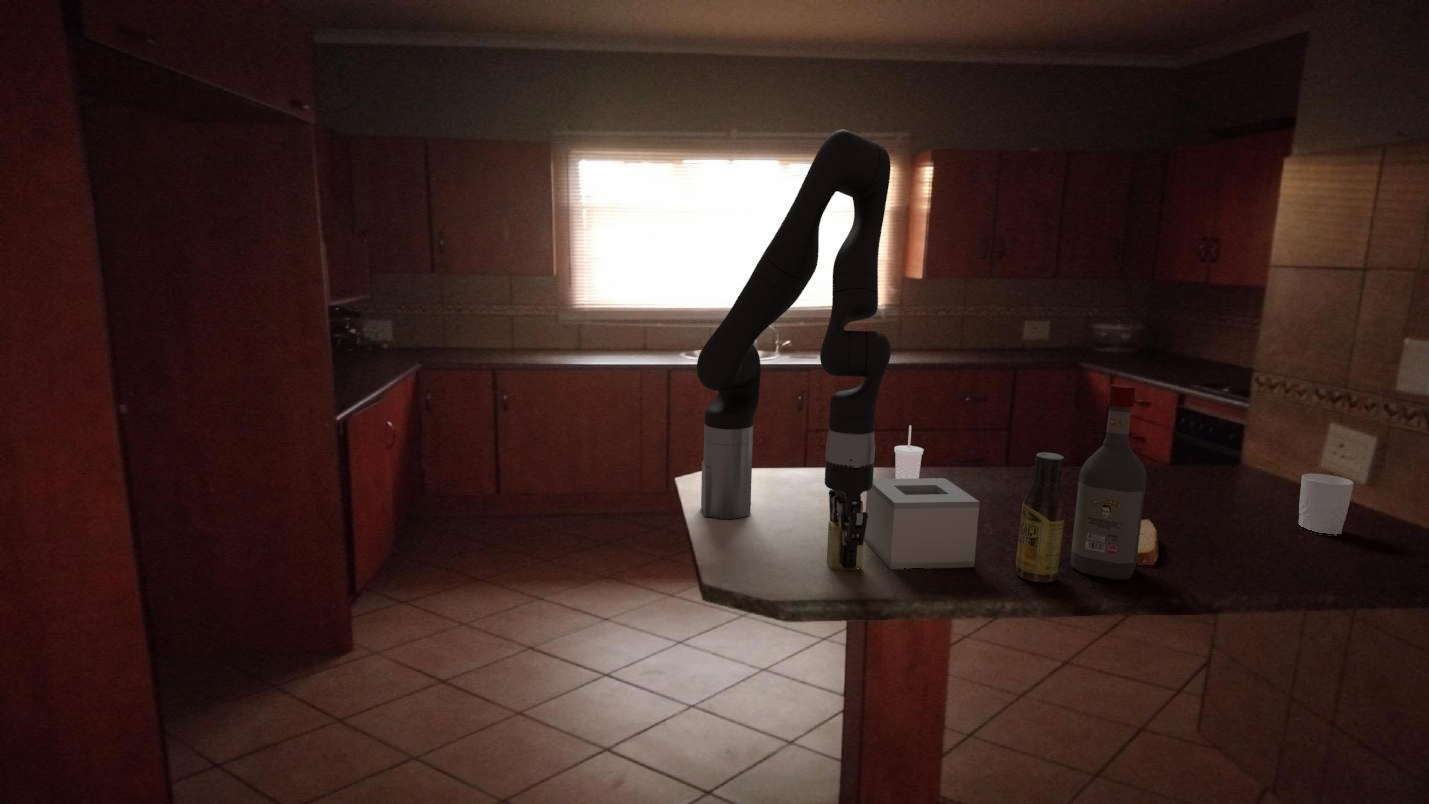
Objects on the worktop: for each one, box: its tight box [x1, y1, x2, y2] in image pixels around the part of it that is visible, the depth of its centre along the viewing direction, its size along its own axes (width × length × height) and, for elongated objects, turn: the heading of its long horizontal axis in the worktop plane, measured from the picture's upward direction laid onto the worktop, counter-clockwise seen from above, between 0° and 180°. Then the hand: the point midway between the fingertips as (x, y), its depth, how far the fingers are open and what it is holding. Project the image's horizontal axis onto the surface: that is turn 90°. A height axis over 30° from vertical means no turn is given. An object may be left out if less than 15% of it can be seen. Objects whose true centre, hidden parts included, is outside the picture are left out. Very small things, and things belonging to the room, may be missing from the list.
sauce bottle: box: [1015, 451, 1067, 584], centre depth 129 cm, size 6×6×20 cm
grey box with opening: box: [864, 477, 980, 570], centre depth 139 cm, size 14×14×11 cm
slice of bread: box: [1136, 518, 1159, 566], centre depth 147 cm, size 18×18×4 cm
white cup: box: [1298, 473, 1354, 536], centre depth 157 cm, size 8×8×10 cm
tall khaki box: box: [826, 521, 865, 571], centre depth 133 cm, size 5×3×7 cm, turn 97°
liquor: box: [1069, 383, 1148, 581], centre depth 133 cm, size 9×9×30 cm
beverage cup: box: [894, 424, 924, 479], centre depth 178 cm, size 6×6×14 cm
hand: (844, 561), depth 134 cm, fingers open, 4 cm apart
